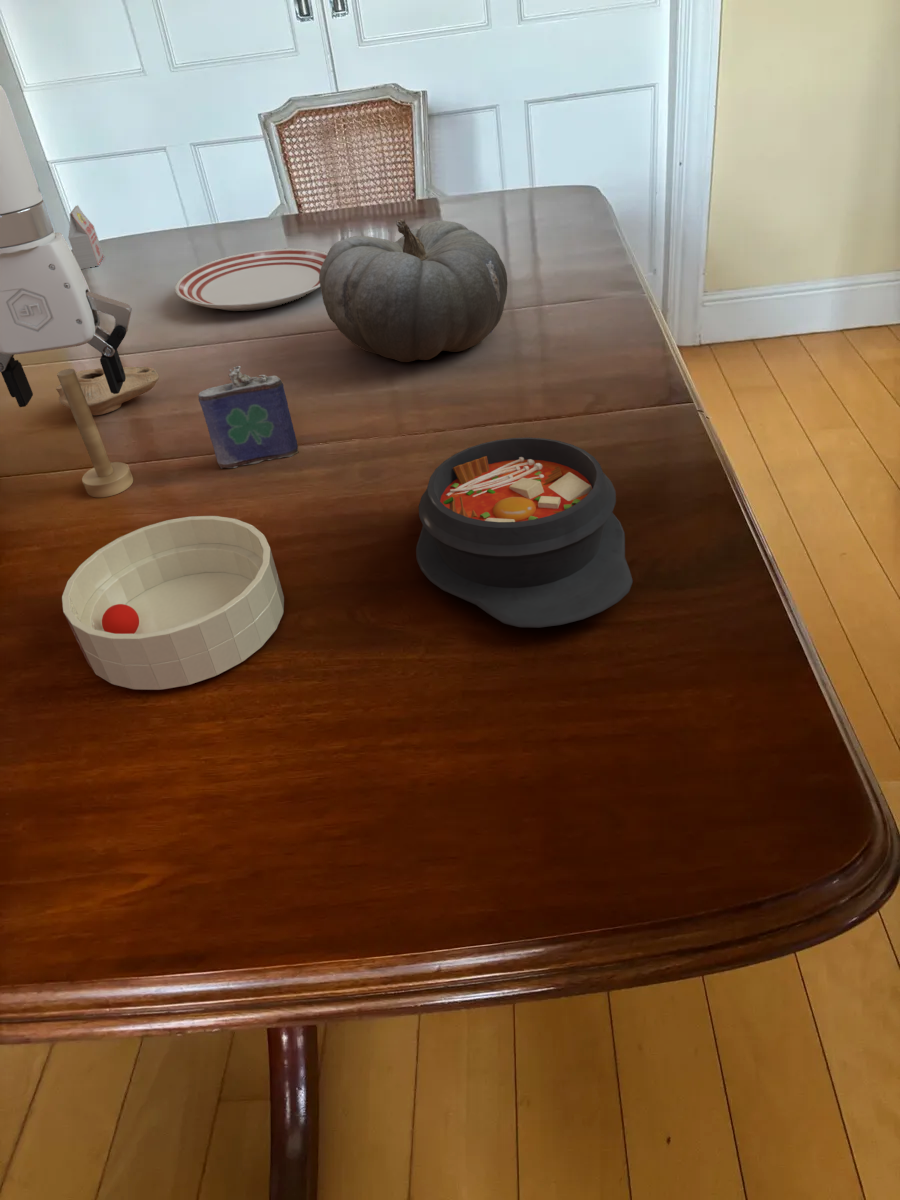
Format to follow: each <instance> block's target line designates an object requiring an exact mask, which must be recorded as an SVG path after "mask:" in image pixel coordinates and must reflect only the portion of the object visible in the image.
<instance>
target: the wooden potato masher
mask: <svg viewBox="0 0 900 1200" xmlns="http://www.w3.org/2000/svg"><path fill="white" fill-rule="evenodd" d="M76 372H77V371H76V370H75V369H74V368H65V369H63V370H60V371H59V372H57V374H56V376H57V379H58V382H59V383H60V384H61V386H62V389H63V391H64V394H65V396H66V399H67V401H68V404H69V406H70V408H69V409H70V411H71V414H72V417H73V419H74V421H75V423H76V426H77V428H78V431H79V434H80V436H81V439H82V441H83V443H84V446H85V449H86V451H87V454H88V457H89V458H90V461H91V465H92V466H93V467H92V468H90V469H89V470H87V471H86V472H85V473H84V474H83V476H82V477H81V482H82V484H83V486H84V489H85V491H86V494H87V495H88V496H90V497H93V498H98V499H99V498H109V497H112V496H116V495H118V494H120V493H123V492H124V491H127V490H128V489H129V488H131V486H132V485H133V483H134V476H133V475H132V474H133V473H132V472H131V469H130V466H129V465H128V464H127V463H125V462H122V461H110V458H109V456H108V453H107V450H106V447H105V445H104V443H103V440H102V437H101V434H100V432H99V429H98V426H97V424H96V422H95V419H94V415H92V414H91V411H90V409H89V406H88V403H87V401H86V398H85V396H84V393H83V391H82V388H81V385H80V383H79V380H78V378H77V375H76ZM60 384H59V385H60Z"/></svg>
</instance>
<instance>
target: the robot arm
mask: <svg viewBox="0 0 900 1200" xmlns="http://www.w3.org/2000/svg"><path fill="white" fill-rule="evenodd" d="M25 146H26V145H25V144H24V141H23V138H22V135H21V132H20V129H19V127H18V123H17V121H16V118H15V115H14V112H13V109H12V106H11V103H10V101H9V98H8V96H7V92H6V91H5V89H4V88H3V86H2V84H0V373H1V376H2V378H3V381H4V383H5V386H6V388H7V390H8V392H9V395H10V396H11V398H15V400H16V403H17V405H18V408H24V407H27V406H28V404H29V403H30V402H31V400H32V398H33V396H34V393H33V392H34V391H33V390H32V387H31V385H30V382H29V380H28V378H27V375H26V372H25V370H24V367H23V365H22V363H21V362H20V361H19V359H15V355H23V354H31V353H38V352H40V353H41V352H46V351H53V350H59V349H68V348H74V347H79V346H83V345H86V344H88V345H89V346H91V347H92V348H94V349H95V350H97V351H98V352H99V353H101V357H100V359H99V362H100V366H101V369H102V368H103V371H104V374H105V377H106V380H107V383H108V385H109V388H110V391H111V393H113V394H118V393H119V392H120V390H121V387H122V385H123V382H125V380H126V376H125V372H124V369H123V367H124V366H123V364H122V361H121V357H120V354H119V351H118V349H119V347H120V345H122V342H123V340H124V339H125V337H126V335H127V333H128V331H129V324H130V321H131V315H132V311H133V310H132V307H131V304H129V303H125V302H123V301H120V300H117V299H113V298H111V297H110V298H109V297H107V296H104V295H101V294H98V293H94V292H91V290H90V287H89V285H88V283H87V281H86V278H85V276H84V273H83V271H82V269H80V267H79V265H78V263H77V261H76V258H75V255H74V253H73V250H71V249H72V248H70V247H71V246H70V245H69V243H68V242H67V240H66V239H65V237H64V235H63V233H61V232H55V229H54V226H53V224H52V221H51V218H50V214H49V212H48V210H47V207H46V204H45V200H44V198H43V196H42V195H43V194H42V192H41V190H40V186H39V184H38V182H37V178H36V175H35V173H34V169H33V166H32V164H31V160H30V157H29V155H28V152H27V150H26V147H25ZM99 312H100V313H103V314H106V315H109V316H112V317H113V318H114V328H113V329H112V330H111V332H110V331H108V330H106V329H105V328H103V327H102V326H101V318H100V314H99Z"/></svg>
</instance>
